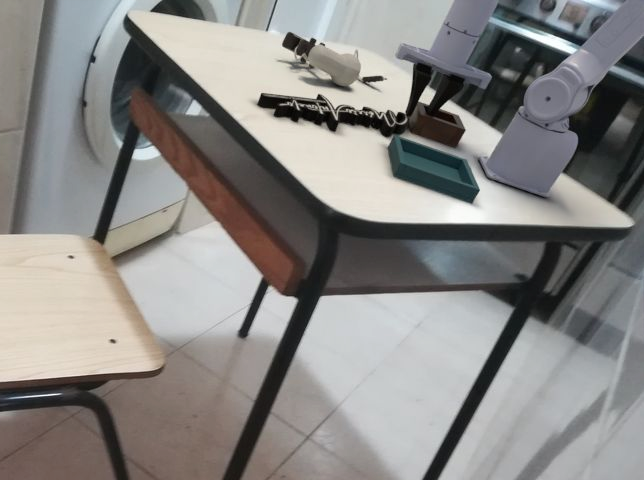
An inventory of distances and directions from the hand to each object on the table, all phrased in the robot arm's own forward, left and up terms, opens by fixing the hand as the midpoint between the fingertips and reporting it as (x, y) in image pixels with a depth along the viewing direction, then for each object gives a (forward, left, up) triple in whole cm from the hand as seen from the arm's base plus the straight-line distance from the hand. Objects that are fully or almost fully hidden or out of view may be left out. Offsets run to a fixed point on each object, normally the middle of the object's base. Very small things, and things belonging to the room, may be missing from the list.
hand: (416, 117), depth 107 cm
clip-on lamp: (+14, -12, -2) cm, 18 cm away
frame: (-3, 0, -1) cm, 3 cm away
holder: (0, +20, -1) cm, 20 cm away
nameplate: (+13, +9, -2) cm, 16 cm away
